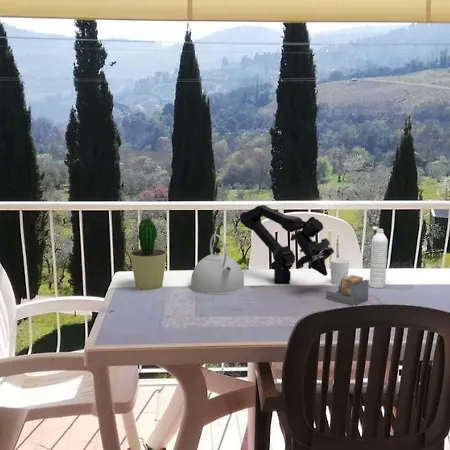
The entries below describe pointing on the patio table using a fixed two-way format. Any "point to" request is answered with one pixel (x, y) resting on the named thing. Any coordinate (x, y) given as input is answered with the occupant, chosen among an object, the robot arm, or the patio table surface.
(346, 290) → the tan box
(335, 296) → the grey open holder
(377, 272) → the water bottle
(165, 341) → the patio table surface
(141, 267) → the potted cactus
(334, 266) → the white cup
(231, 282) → the kettle
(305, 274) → the patio table surface
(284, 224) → the robot arm
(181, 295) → the patio table surface
